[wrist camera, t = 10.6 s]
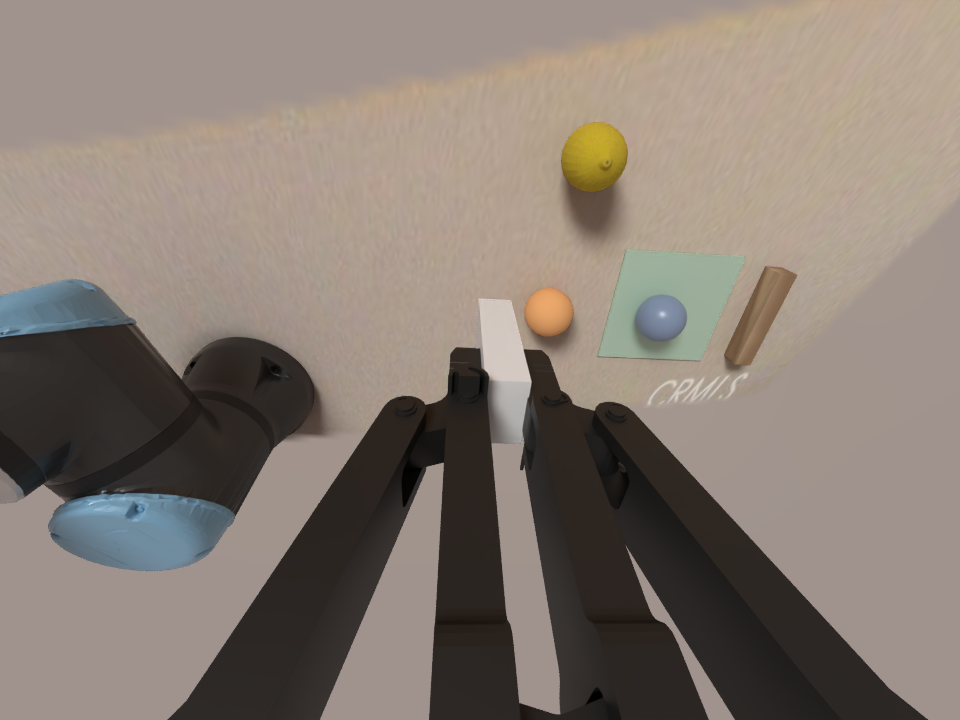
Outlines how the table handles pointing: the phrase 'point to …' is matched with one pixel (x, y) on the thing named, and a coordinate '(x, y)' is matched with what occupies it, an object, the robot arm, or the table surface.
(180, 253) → the table surface
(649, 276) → the mark
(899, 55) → the table surface
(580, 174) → the lemon
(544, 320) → the ball
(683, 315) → the ball
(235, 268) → the table surface
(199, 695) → the robot arm
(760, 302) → the rail
